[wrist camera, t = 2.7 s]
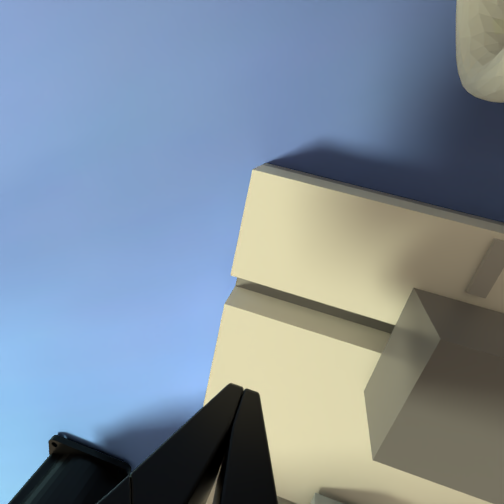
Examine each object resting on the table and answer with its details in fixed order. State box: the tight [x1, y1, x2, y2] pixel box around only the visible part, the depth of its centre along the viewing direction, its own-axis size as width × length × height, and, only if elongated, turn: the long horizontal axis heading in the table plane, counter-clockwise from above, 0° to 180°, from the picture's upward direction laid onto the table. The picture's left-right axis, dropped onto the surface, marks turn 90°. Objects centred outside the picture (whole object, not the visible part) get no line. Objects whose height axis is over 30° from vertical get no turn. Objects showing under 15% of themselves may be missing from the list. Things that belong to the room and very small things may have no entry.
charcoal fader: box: [364, 288, 504, 504], centre depth 11 cm, size 4×5×5 cm
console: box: [203, 163, 504, 504], centre depth 15 cm, size 22×22×3 cm
